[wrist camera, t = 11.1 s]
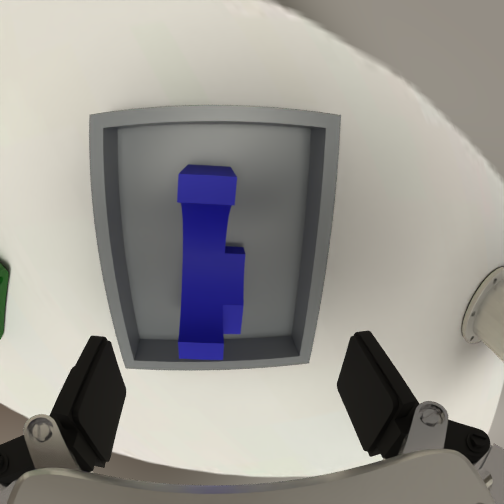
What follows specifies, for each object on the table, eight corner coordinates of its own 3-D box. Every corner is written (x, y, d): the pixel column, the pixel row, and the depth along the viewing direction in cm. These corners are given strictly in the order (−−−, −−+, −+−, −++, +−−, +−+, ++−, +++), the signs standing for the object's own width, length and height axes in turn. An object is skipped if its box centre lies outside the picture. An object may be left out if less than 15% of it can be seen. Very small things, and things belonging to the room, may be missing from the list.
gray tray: (319, 118, 20) (340, 115, 17) (297, 336, 28) (308, 363, 24) (109, 117, 18) (89, 114, 15) (133, 340, 26) (125, 368, 22)
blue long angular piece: (237, 312, 25) (244, 360, 19) (184, 311, 24) (178, 358, 18) (251, 168, 20) (265, 179, 15) (188, 164, 20) (178, 173, 14)
